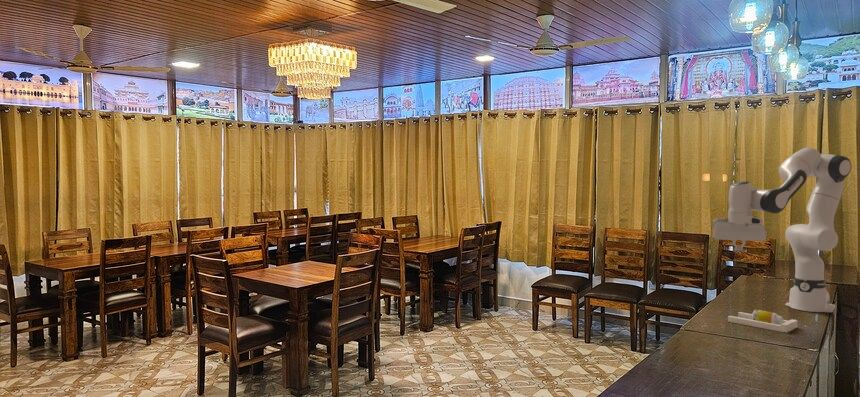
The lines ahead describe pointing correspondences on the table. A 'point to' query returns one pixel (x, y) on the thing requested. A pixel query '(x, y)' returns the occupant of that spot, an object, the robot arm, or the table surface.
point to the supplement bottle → (767, 317)
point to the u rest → (763, 323)
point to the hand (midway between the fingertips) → (738, 250)
